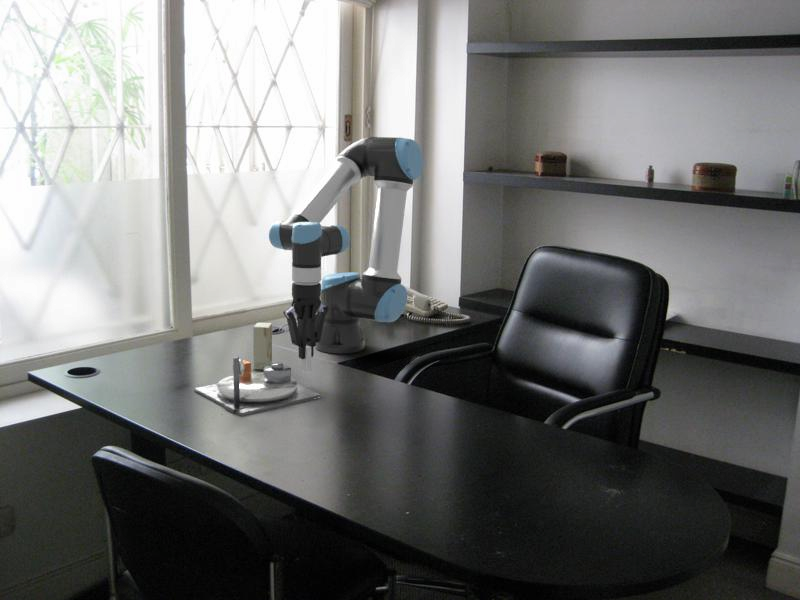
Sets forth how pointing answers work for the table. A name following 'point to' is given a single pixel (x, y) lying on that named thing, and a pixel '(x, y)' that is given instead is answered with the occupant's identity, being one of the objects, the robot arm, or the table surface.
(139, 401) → the table surface
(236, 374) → the post
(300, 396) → the turntable base
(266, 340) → the skincare box
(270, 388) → the platter
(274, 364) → the cover
